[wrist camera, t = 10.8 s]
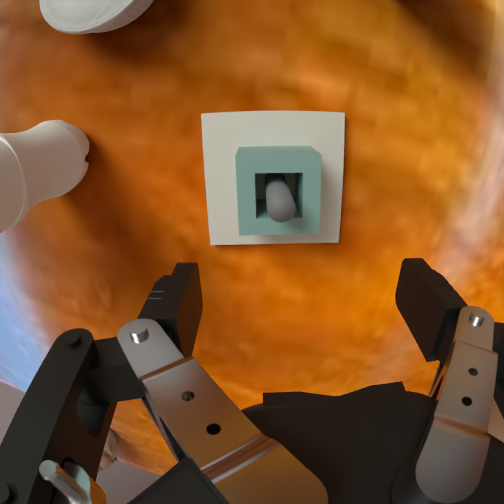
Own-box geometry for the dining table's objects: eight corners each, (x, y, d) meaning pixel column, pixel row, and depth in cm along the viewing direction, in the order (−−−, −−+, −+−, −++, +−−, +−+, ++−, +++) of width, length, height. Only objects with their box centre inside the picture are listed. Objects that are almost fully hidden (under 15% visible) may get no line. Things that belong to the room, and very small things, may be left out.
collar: (310, 145, 26) (321, 154, 22) (309, 212, 29) (318, 233, 24) (239, 146, 26) (235, 155, 22) (241, 213, 29) (239, 235, 24)
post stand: (341, 112, 26) (377, 117, 18) (336, 238, 31) (361, 287, 23) (203, 113, 26) (179, 118, 18) (211, 240, 31) (196, 291, 23)
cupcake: (78, 408, 45) (59, 452, 36) (127, 430, 47) (113, 476, 38) (77, 430, 49) (61, 469, 40) (120, 448, 51) (108, 489, 42)
